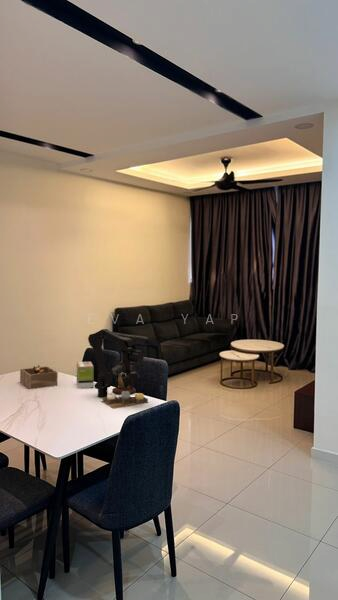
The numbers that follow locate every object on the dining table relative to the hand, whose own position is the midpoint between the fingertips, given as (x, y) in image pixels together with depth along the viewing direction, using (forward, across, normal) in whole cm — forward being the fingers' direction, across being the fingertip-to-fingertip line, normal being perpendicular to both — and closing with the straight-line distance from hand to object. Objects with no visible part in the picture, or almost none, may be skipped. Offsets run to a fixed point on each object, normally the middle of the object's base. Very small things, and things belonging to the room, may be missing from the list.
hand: (125, 387), depth 239 cm
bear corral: (+10, -67, -28) cm, 73 cm away
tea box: (+10, -49, -3) cm, 50 cm away
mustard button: (+8, +4, +7) cm, 11 cm away
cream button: (+8, -4, -7) cm, 11 cm away
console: (+10, 0, 0) cm, 10 cm away
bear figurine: (+10, -67, -26) cm, 73 cm away
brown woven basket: (+10, -19, +10) cm, 24 cm away
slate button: (+7, 0, 0) cm, 7 cm away
